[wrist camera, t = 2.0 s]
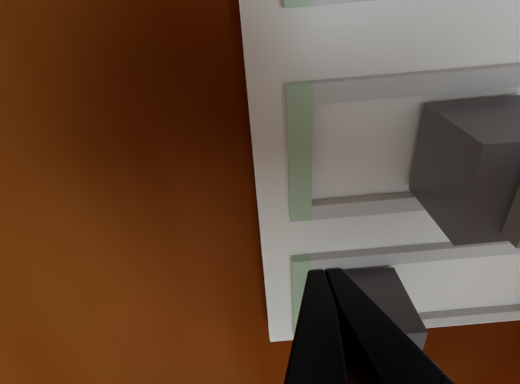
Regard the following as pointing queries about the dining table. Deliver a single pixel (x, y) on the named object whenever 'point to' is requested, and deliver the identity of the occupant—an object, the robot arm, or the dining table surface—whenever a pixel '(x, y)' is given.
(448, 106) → the toggle middle
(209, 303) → the dining table surface
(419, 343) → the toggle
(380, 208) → the breaker board
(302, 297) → the robot arm
